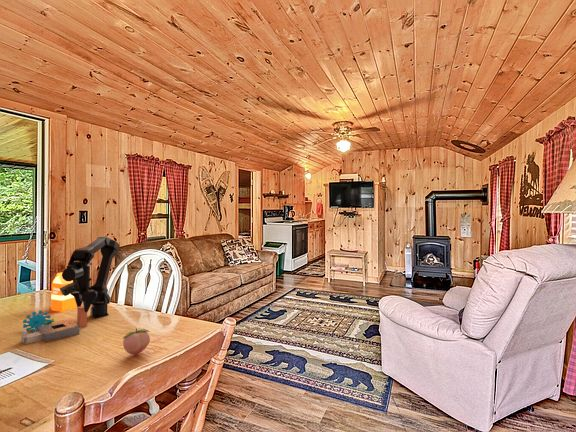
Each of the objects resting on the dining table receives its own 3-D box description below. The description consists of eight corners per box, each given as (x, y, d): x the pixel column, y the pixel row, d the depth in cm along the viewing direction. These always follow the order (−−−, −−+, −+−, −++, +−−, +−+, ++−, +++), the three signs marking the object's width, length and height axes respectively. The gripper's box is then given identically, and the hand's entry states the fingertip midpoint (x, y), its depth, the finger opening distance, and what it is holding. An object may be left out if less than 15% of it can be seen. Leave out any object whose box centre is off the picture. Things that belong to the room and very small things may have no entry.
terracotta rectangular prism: (84, 324, 147) (84, 305, 147) (87, 326, 145) (87, 306, 145) (77, 326, 145) (77, 307, 145) (79, 328, 143) (79, 308, 143)
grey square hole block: (69, 327, 144) (69, 319, 144) (79, 333, 136) (79, 325, 136) (37, 334, 135) (37, 326, 135) (45, 342, 127) (45, 334, 127)
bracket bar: (39, 337, 132) (39, 325, 132) (42, 339, 130) (42, 327, 130) (21, 341, 127) (21, 329, 127) (24, 344, 125) (24, 332, 125)
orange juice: (51, 310, 166) (51, 272, 166) (67, 305, 175) (67, 269, 174) (62, 312, 164) (62, 274, 164) (77, 307, 173) (78, 270, 172)
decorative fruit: (142, 347, 125) (143, 322, 125) (153, 353, 120) (153, 327, 120) (118, 355, 118) (118, 328, 118) (127, 362, 113) (128, 334, 112)
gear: (18, 330, 134) (27, 309, 141) (20, 337, 138) (28, 315, 145) (49, 330, 139) (56, 310, 146) (50, 336, 142) (57, 316, 149)
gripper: (55, 276, 144) (55, 309, 145) (69, 282, 133) (69, 319, 133) (82, 272, 153) (82, 304, 153) (98, 278, 141) (97, 312, 142)
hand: (82, 309), depth 145 cm, fingers open, 9 cm apart
